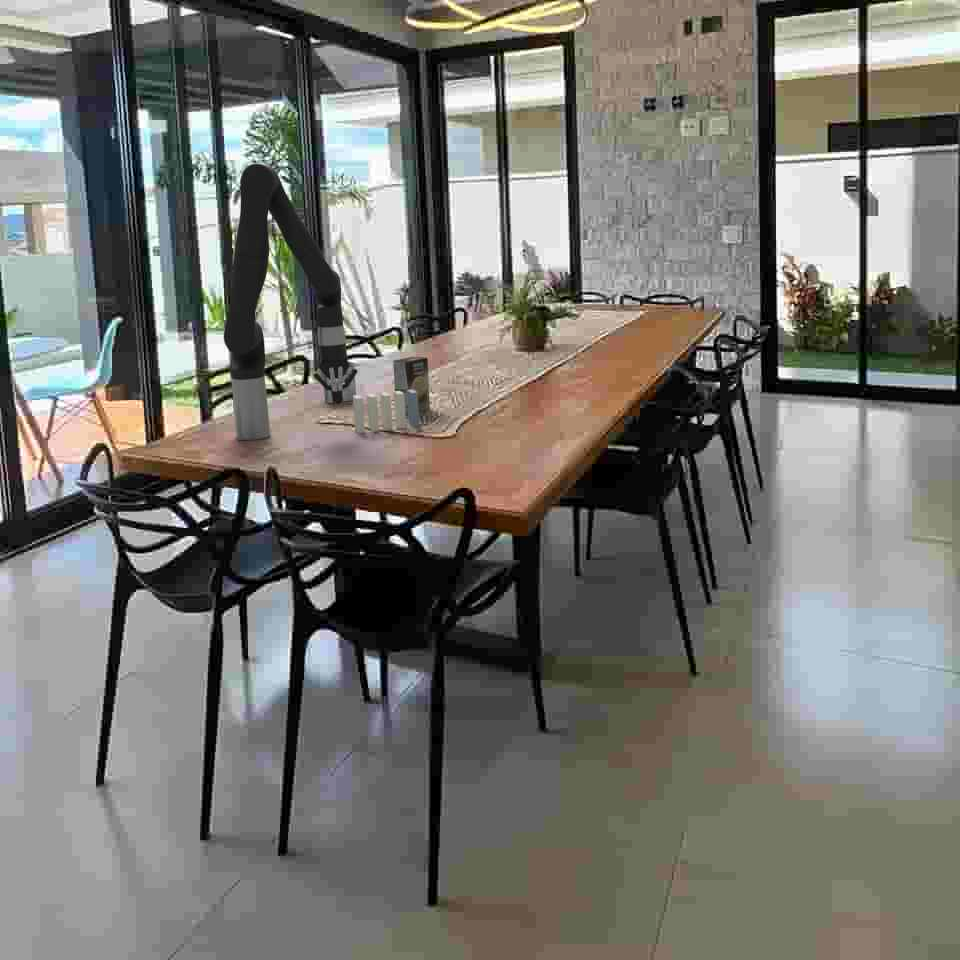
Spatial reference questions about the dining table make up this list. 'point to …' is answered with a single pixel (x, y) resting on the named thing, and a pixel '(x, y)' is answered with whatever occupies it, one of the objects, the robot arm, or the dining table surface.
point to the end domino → (413, 407)
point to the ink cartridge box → (346, 392)
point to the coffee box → (413, 379)
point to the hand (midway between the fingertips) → (337, 403)
